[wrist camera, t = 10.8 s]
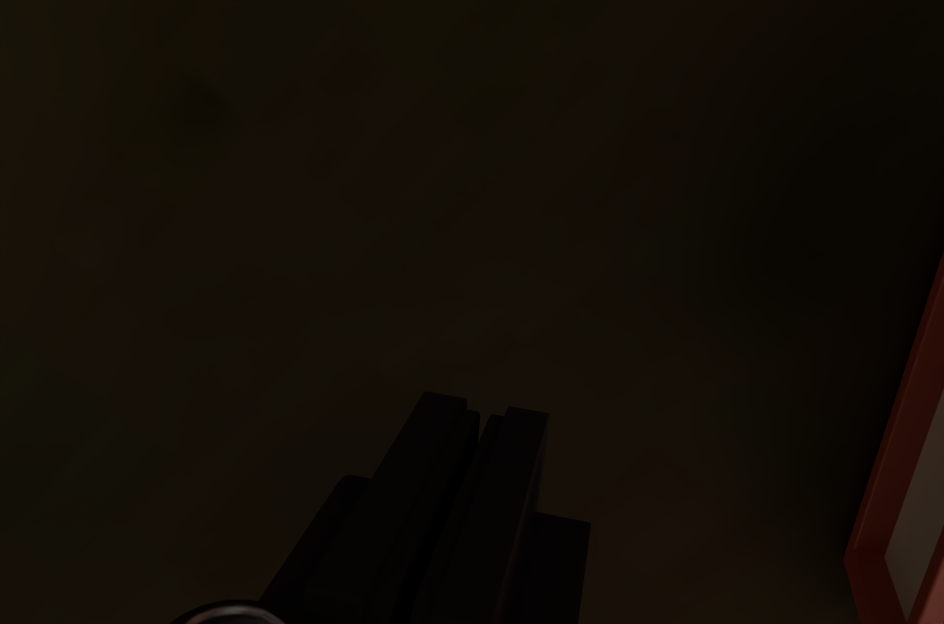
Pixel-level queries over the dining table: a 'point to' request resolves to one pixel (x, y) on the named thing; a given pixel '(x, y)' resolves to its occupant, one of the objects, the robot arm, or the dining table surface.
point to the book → (906, 493)
